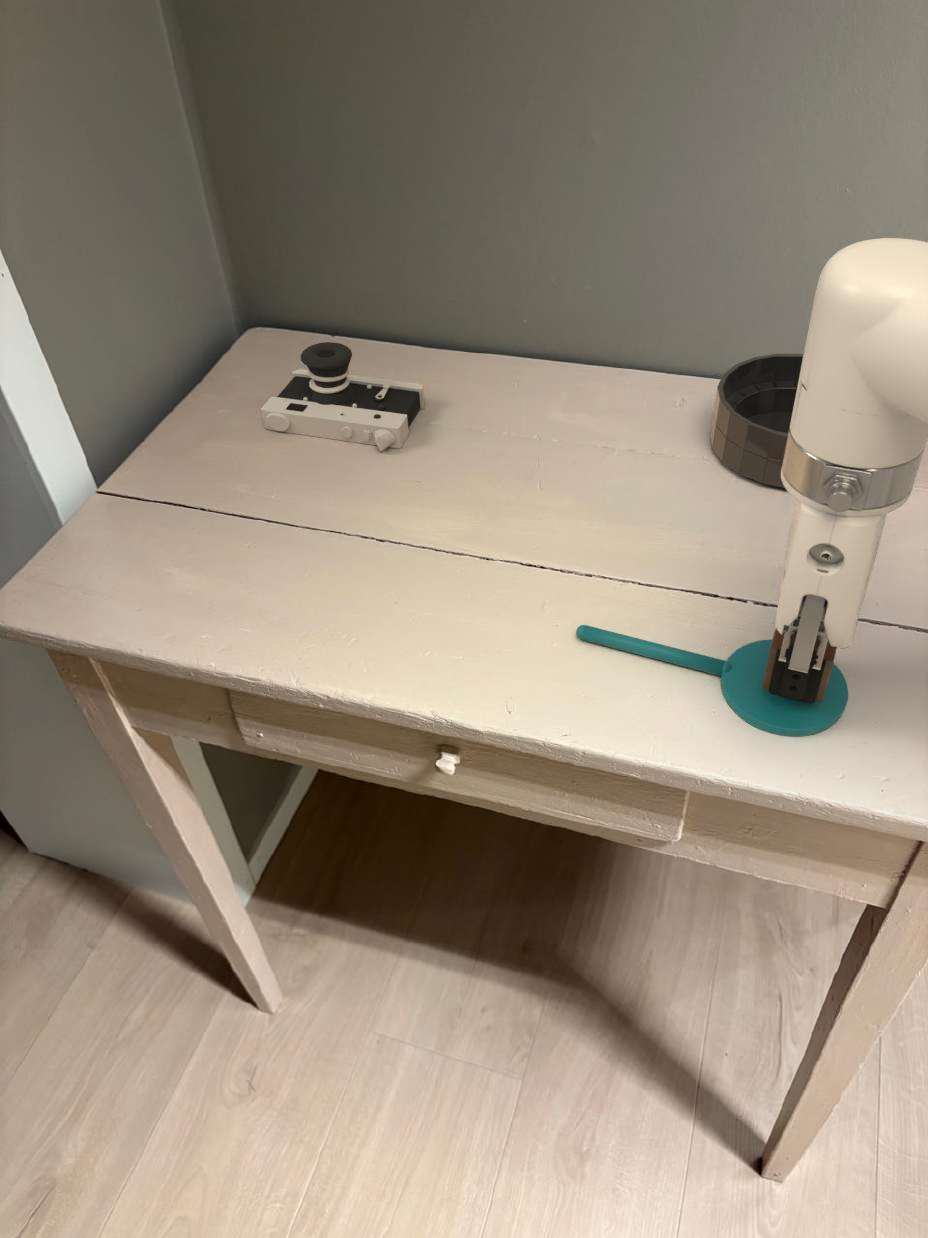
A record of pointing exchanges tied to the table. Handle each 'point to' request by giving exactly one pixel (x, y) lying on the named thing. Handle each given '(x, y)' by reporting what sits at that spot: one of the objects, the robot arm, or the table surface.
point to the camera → (343, 402)
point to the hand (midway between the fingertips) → (797, 670)
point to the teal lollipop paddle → (743, 683)
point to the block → (778, 642)
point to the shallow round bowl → (756, 415)
